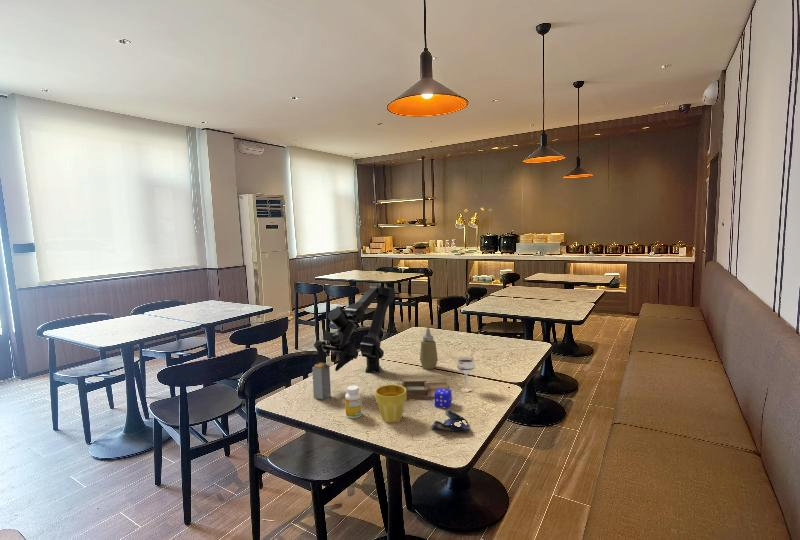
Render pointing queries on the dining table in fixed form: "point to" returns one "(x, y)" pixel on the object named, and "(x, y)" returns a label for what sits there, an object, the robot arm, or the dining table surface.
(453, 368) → the dining table surface
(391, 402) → the plant pot
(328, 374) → the grey faceted pillar
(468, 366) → the wineglass
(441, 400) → the die
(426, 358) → the squeeze bottle
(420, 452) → the dining table surface
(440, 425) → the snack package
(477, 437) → the dining table surface
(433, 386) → the chassis board
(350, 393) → the supplement bottle
